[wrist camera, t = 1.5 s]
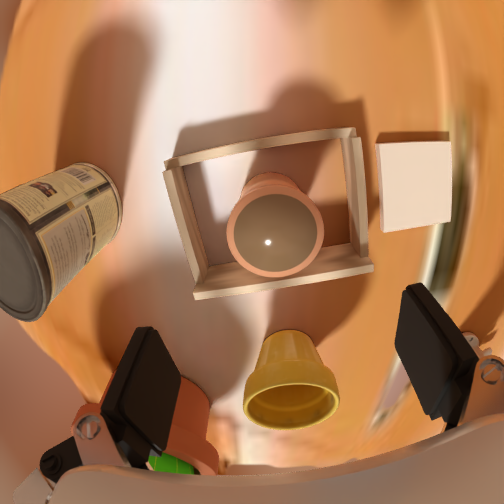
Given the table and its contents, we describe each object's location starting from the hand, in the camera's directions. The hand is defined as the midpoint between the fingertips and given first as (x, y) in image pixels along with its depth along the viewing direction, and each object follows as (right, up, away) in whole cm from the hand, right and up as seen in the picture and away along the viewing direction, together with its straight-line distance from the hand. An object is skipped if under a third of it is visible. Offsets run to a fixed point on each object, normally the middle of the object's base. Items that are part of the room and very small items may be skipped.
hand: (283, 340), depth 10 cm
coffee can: (-20, +8, +17) cm, 28 cm away
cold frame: (+1, +8, +17) cm, 19 cm away
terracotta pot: (+1, +8, +17) cm, 19 cm away
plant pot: (+3, -9, +25) cm, 27 cm away
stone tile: (+16, +10, +15) cm, 24 cm away
